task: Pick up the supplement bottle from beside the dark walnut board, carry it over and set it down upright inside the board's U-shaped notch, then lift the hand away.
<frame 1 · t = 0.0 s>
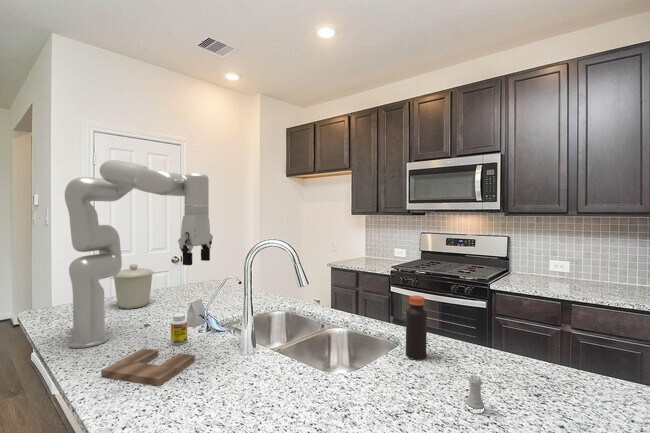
hand: (196, 262, 115), 31 cm above the worktop, tool pointing down, fingers open, 9 cm apart
notched board: (150, 368, 106), on the worktop
rook chess piece: (474, 410, 86), on the worktop
canister: (133, 306, 172), on the worktop
supplement bottle: (179, 343, 127), on the worktop
vinegar: (415, 356, 117), on the worktop
tea bag: (196, 324, 147), on the worktop
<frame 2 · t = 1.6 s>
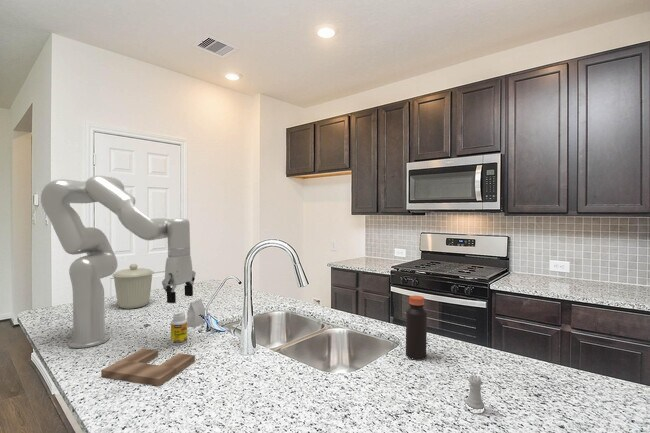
hand: (180, 299, 126), 16 cm above the worktop, tool pointing down, fingers open, 9 cm apart
nothing on the worktop moved.
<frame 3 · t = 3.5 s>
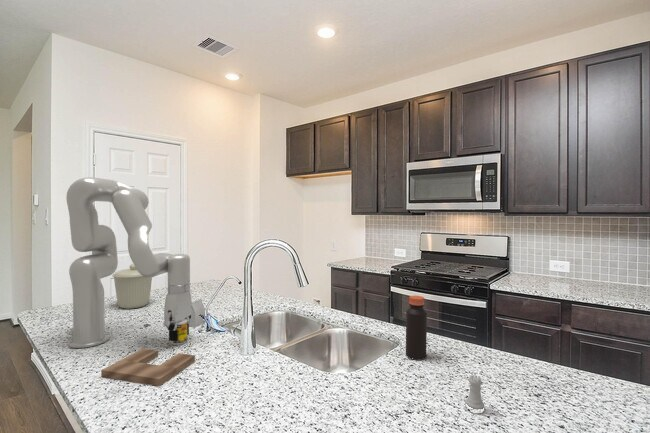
hand: (179, 337, 127), 2 cm above the worktop, tool pointing down, fingers closed on supplement bottle, 5 cm apart
supplement bottle: (179, 343, 127), on the worktop, touching gripper
everything else where it was.
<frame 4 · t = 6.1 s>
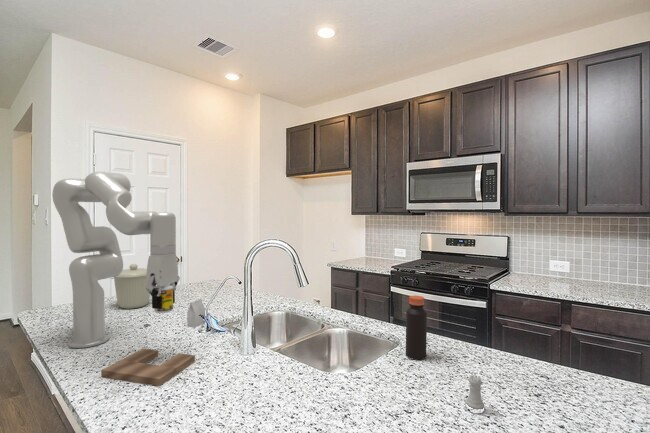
hand: (163, 305, 113), 18 cm above the worktop, tool pointing down, fingers closed on supplement bottle, 5 cm apart
supplement bottle: (163, 311, 113), point 15 cm above the worktop, touching gripper
everything else where it was.
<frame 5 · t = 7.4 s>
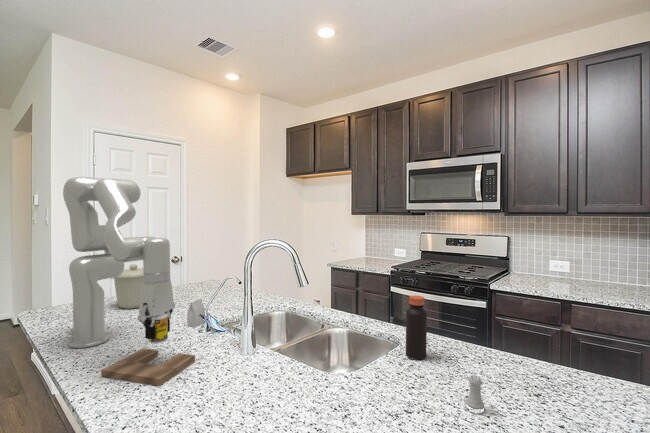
hand: (157, 334, 109), 10 cm above the worktop, tool pointing down, fingers closed on supplement bottle, 5 cm apart
supplement bottle: (158, 341, 109), point 7 cm above the worktop, touching gripper
everything else where it was.
when the fingers open (3 cm above the worktop, at t = 8.8 s): supplement bottle drops 1 cm, on the worktop.
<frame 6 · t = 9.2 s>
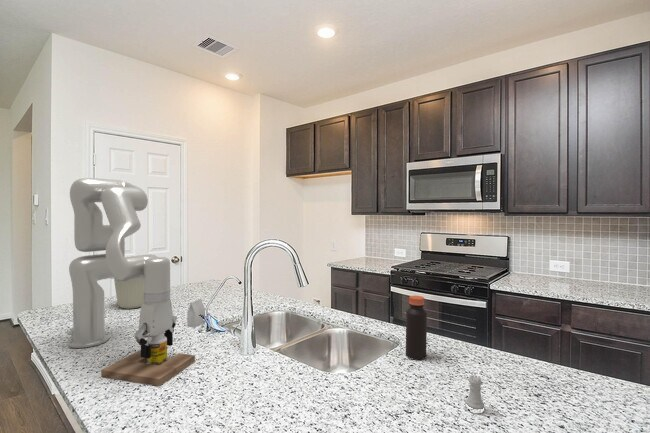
hand: (157, 351, 109), 4 cm above the worktop, tool pointing down, fingers open, 9 cm apart
supplement bottle: (157, 364, 109), on the worktop
everything else where it was.
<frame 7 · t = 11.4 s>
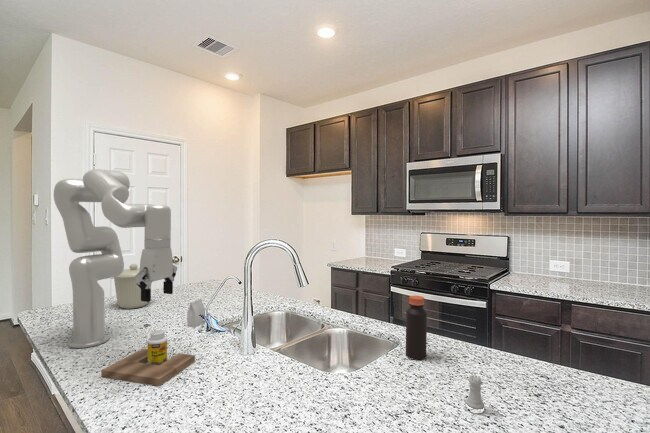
hand: (157, 297, 111), 21 cm above the worktop, tool pointing down, fingers open, 9 cm apart
nothing on the worktop moved.
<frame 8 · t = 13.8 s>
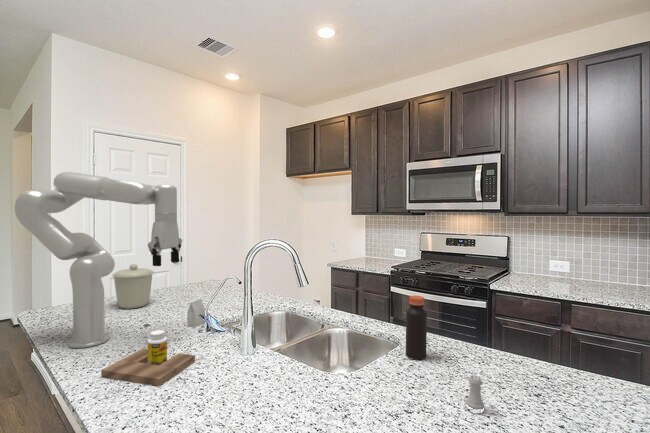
hand: (166, 263, 130), 28 cm above the worktop, tool pointing down, fingers open, 9 cm apart
nothing on the worktop moved.
at the end: supplement bottle 0.3 cm from the target spot on the notched board, point 0.0 cm above the notched board's base; supplement bottle tilted 0°; the gripper is holding nothing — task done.
